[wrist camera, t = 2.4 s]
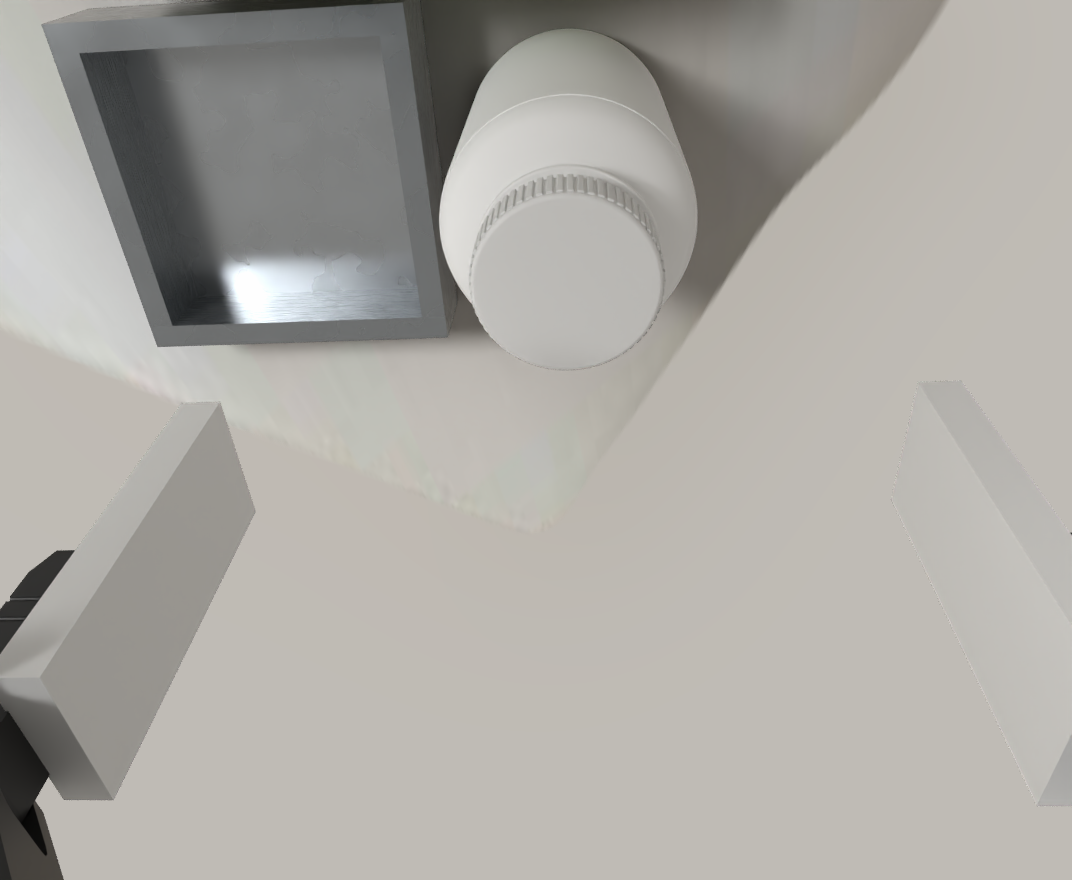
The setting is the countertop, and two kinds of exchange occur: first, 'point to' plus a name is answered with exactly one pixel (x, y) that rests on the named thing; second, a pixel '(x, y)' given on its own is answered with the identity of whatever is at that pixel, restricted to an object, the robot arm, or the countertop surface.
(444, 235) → the pill bottle
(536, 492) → the countertop surface
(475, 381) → the countertop surface
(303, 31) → the grey square tray
